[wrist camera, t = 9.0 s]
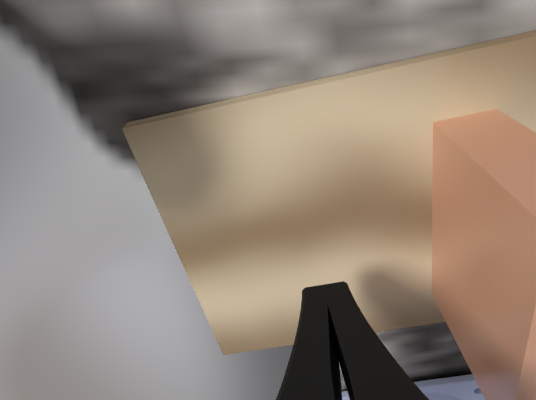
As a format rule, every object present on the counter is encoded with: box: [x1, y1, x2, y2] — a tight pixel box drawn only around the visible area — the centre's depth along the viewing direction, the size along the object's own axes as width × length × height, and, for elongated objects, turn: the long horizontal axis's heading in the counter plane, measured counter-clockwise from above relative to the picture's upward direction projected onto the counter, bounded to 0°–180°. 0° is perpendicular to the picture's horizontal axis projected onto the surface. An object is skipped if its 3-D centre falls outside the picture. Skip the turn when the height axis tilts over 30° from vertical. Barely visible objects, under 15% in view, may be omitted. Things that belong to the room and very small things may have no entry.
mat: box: [122, 30, 536, 355], centre depth 15 cm, size 12×18×1 cm, turn 103°
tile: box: [432, 109, 536, 400], centre depth 12 cm, size 8×2×6 cm, turn 13°
